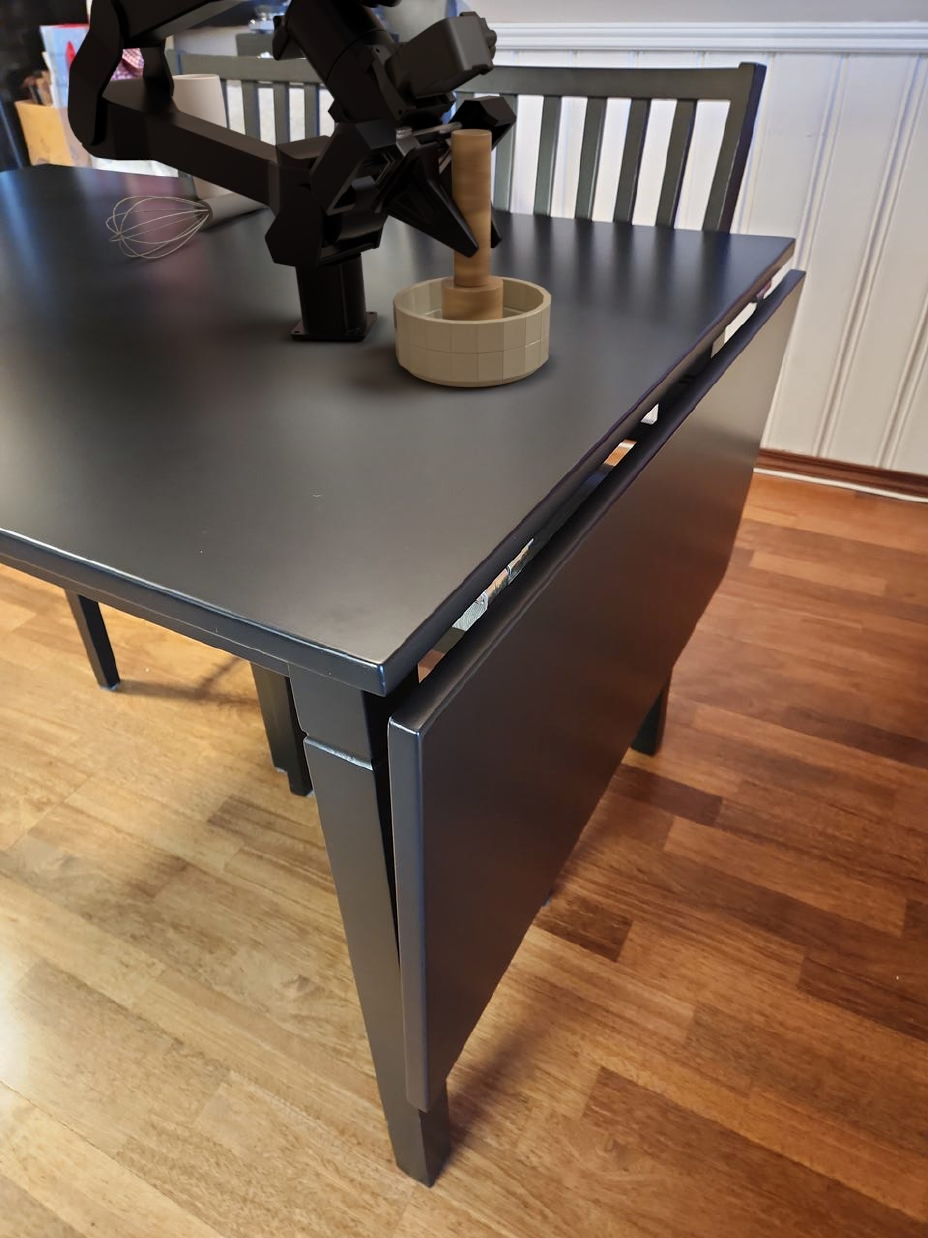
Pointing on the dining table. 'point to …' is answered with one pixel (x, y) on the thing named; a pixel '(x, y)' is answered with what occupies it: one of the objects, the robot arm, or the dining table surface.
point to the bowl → (472, 336)
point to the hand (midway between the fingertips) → (486, 249)
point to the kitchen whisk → (203, 211)
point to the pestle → (472, 284)
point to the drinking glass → (202, 114)
